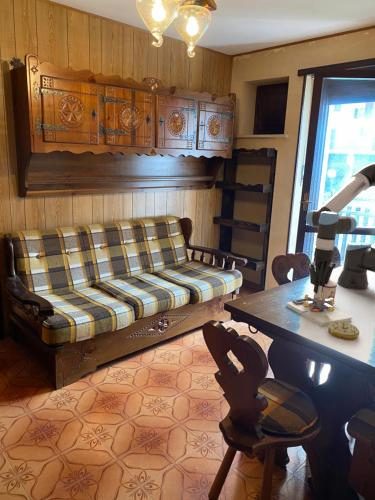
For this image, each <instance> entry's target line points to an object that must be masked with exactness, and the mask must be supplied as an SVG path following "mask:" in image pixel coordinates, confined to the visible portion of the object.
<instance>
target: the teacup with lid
mask: <svg viewBox="0 0 375 500" xmlns="http://www.w3.org/2000/svg"><path fill="white" fill-rule="evenodd" d="M337 284H338V283H337V282H335V281H334V280H332V279H329V282H328V284H327V285H326V284H325V287H323V292H322V293H321V298H322V299H329V298H333V299H334V300H335V296H336V290H337V287H338V285H337Z"/></svg>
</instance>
